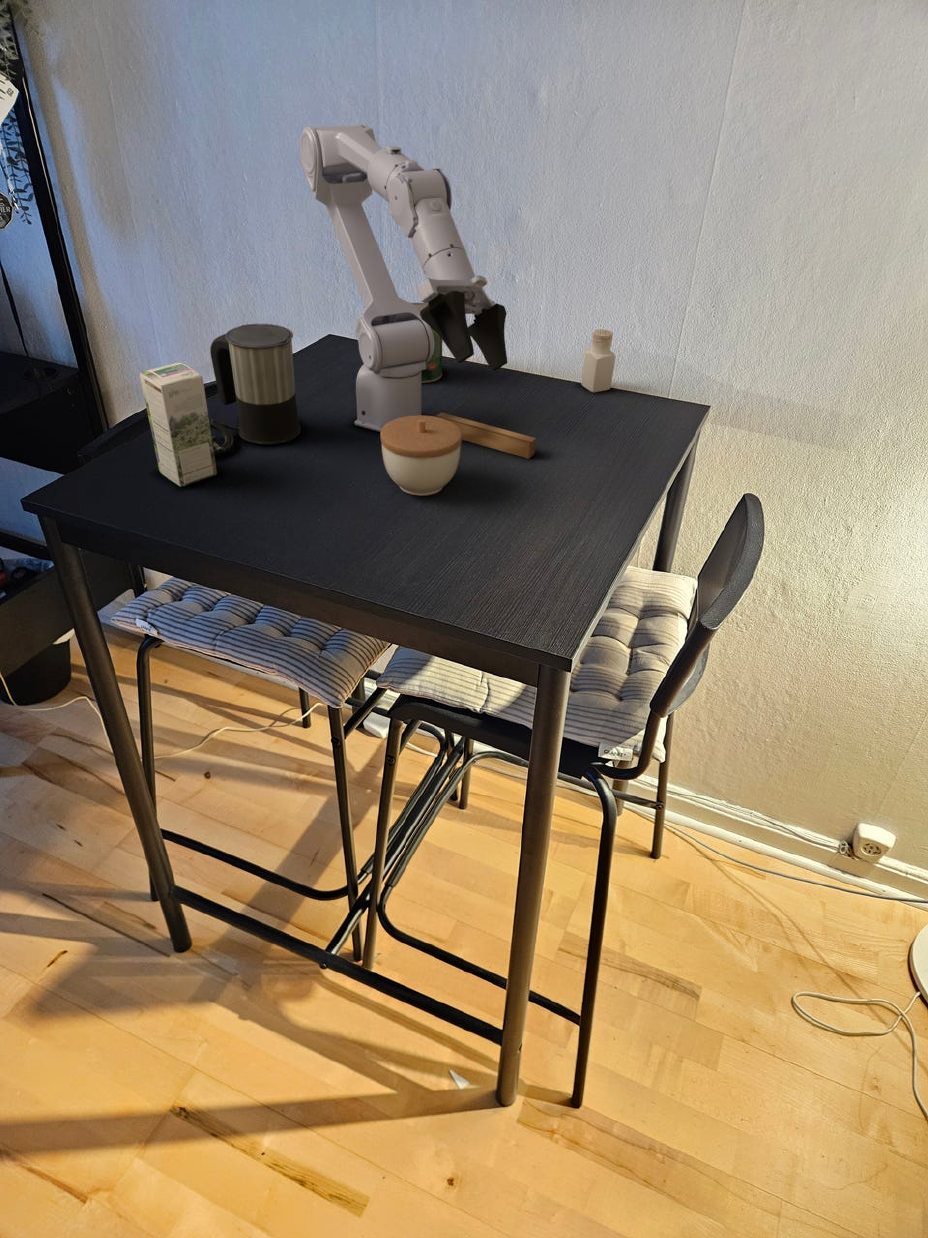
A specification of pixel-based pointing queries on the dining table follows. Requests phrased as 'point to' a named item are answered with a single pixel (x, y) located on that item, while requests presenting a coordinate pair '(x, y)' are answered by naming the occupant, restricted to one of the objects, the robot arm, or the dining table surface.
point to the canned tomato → (435, 363)
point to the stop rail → (493, 436)
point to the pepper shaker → (598, 362)
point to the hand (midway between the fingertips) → (483, 362)
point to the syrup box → (179, 423)
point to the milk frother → (256, 384)
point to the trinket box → (421, 452)
